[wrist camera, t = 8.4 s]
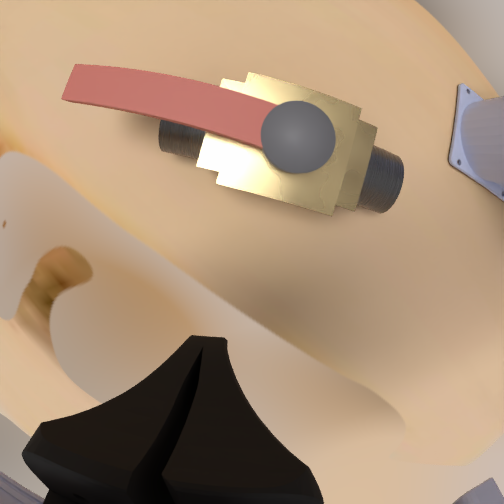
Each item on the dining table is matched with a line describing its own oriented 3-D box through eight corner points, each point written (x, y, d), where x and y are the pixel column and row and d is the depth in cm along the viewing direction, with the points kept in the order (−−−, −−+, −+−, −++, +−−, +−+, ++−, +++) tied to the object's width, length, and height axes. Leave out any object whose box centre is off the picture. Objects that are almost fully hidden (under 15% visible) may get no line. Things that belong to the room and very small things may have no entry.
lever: (315, 183, 13) (321, 184, 12) (68, 112, 11) (56, 109, 10) (337, 122, 12) (344, 118, 11) (88, 59, 10) (79, 53, 9)
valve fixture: (384, 143, 17) (427, 137, 12) (362, 222, 19) (400, 240, 14) (192, 85, 16) (171, 55, 11) (168, 168, 18) (137, 166, 13)
